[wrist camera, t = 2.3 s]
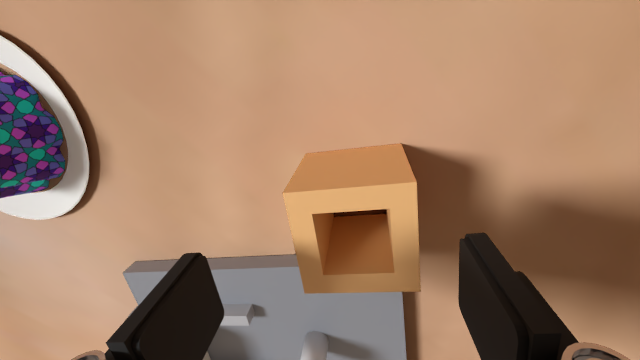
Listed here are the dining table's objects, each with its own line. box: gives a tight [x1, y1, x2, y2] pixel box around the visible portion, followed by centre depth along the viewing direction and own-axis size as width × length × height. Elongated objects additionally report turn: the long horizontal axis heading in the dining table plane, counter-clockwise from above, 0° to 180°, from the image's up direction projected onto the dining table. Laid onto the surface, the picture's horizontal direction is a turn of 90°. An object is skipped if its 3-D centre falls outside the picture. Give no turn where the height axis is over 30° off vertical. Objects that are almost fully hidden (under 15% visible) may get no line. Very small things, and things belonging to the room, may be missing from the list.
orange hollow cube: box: [283, 144, 421, 294], centre depth 14 cm, size 5×5×5 cm
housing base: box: [123, 255, 407, 360], centre depth 19 cm, size 18×12×5 cm, turn 99°
